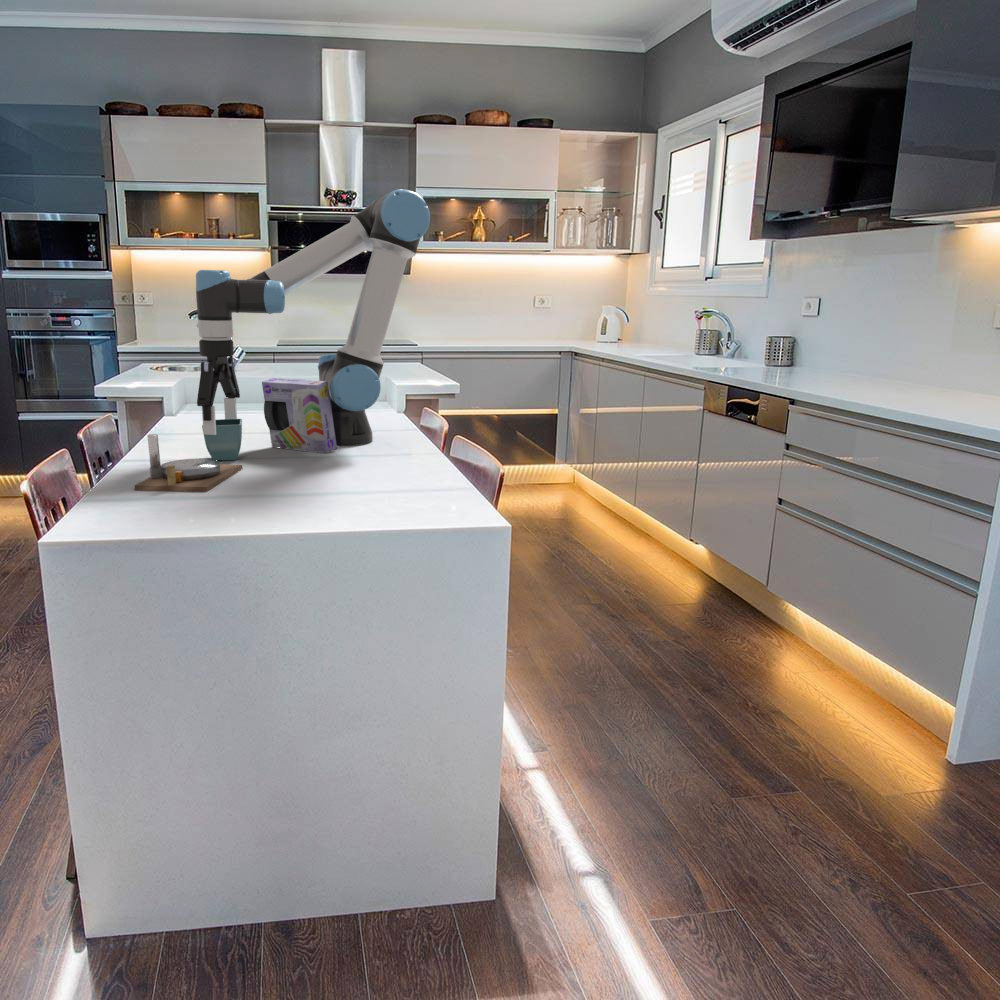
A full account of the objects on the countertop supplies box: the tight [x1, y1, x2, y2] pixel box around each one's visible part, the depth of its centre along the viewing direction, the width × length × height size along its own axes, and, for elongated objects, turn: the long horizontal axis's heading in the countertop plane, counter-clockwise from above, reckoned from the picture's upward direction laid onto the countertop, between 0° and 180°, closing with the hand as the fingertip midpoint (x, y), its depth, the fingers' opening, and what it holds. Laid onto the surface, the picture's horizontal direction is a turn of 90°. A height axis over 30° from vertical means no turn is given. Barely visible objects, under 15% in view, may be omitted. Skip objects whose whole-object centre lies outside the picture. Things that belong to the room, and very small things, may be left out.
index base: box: [133, 463, 243, 493], centre depth 182 cm, size 15×21×5 cm
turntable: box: [147, 433, 221, 482], centre depth 180 cm, size 14×13×9 cm
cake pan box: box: [261, 377, 338, 454], centre depth 212 cm, size 19×5×18 cm, turn 62°
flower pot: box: [201, 418, 243, 461], centre depth 202 cm, size 9×9×9 cm
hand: (221, 429), depth 201 cm, fingers open, 13 cm apart
